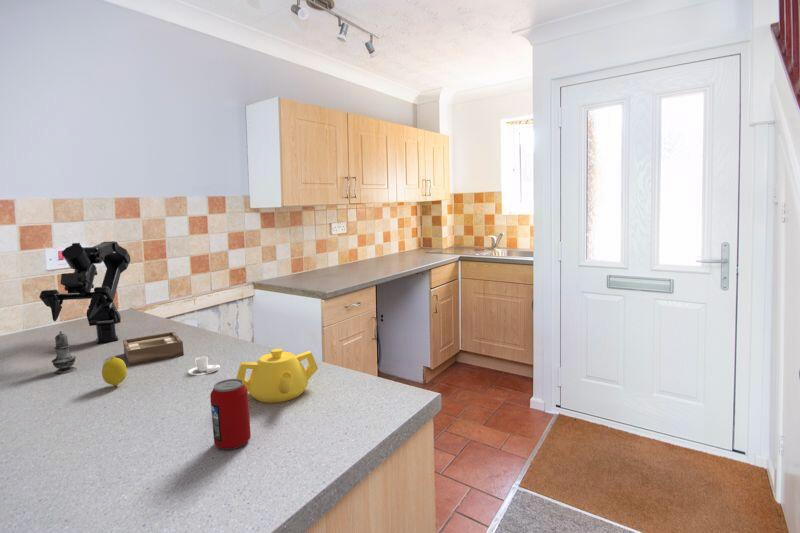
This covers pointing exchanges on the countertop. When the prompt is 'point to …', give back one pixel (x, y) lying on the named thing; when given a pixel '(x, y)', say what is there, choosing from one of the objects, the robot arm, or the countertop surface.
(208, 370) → the teacup and saucer
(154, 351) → the walnut box
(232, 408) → the beverage can
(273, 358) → the teapot
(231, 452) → the countertop surface
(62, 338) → the grey stone tall piece
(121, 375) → the lemon
